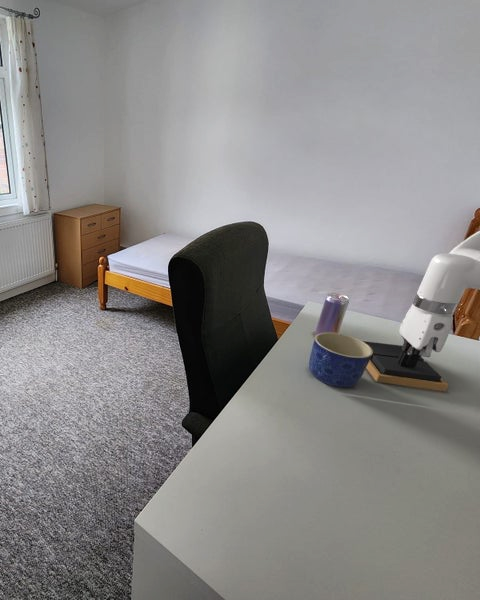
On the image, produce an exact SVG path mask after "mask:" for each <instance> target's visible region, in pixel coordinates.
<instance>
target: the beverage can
mask: <svg viewBox="0 0 480 600" xmlns="http://www.w3.org/2000/svg"><path fill="white" fill-rule="evenodd" d="M349 304H350V298H349V297H348V296H346V295H344V294H342V293H341V294H340V293H328V294H327V295H326V297H325V299H324V302H323V305H322V308H321V312H320V316H319V318H318V321H317V325H316V328H315V330H314V336H316V335H318V334H320V333H325V332H332V333H340V330H341V327H342V324H343V322H344V319H345V315H346V313H347V309H348V307H349Z"/></svg>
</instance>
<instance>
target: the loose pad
mask: <svg viewBox="0 0 480 600" xmlns="http://www.w3.org/2000/svg"><path fill="white" fill-rule="evenodd" d="M398 359H399V358H394V357H386V356H378V355H373V358H372V360H371V362H372V363H373V364H374V366H375V367H376V368H377V369H378V371H379V372H380V373H381V374H383V375H390V376H398V377H405V378H412V379H419V380H426V381H434V382H439V381H440V379H441V378H442V375H440V374H439V373H438V371H436V370H435V369H434V368H433V367H432V366H431V365H430V364H429V363H428V362H427V361H425V360H424V361H418V362H417V364H416V366H415V367H414V368H411V367H404V366H400V365H399V364H398V362H397V361H398Z"/></svg>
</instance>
